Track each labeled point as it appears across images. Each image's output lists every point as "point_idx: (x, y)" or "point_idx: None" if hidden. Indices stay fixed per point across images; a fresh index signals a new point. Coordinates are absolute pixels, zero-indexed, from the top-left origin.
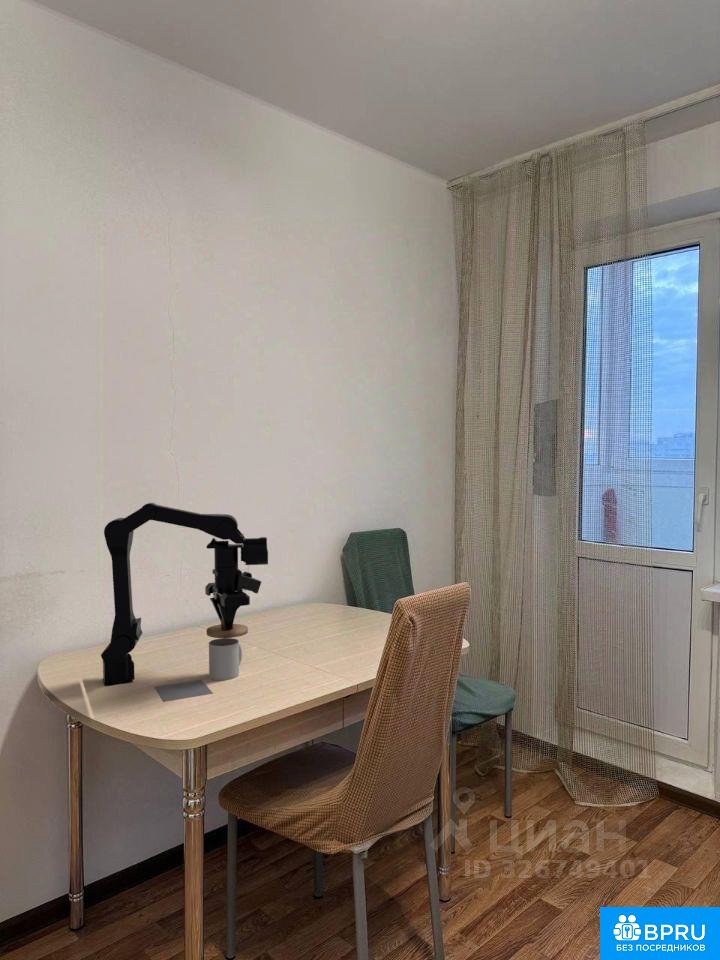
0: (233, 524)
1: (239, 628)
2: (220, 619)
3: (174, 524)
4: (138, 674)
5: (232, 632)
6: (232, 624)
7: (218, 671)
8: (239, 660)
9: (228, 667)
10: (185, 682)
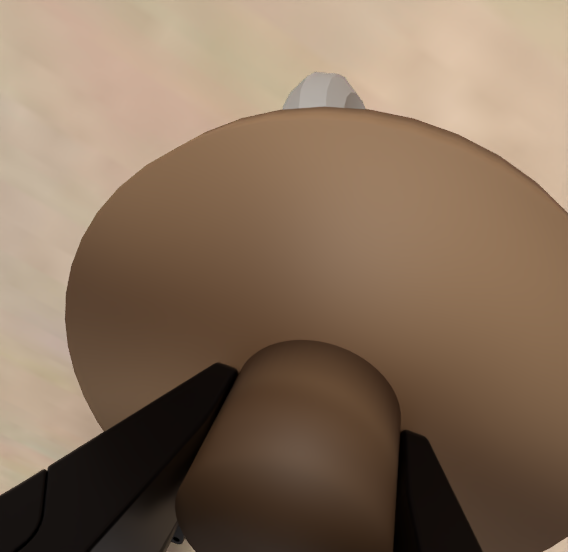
0: None
1: (437, 306)
2: (174, 523)
3: None
4: (92, 418)
5: (551, 490)
6: (460, 506)
7: None
8: (356, 107)
9: None
10: None
